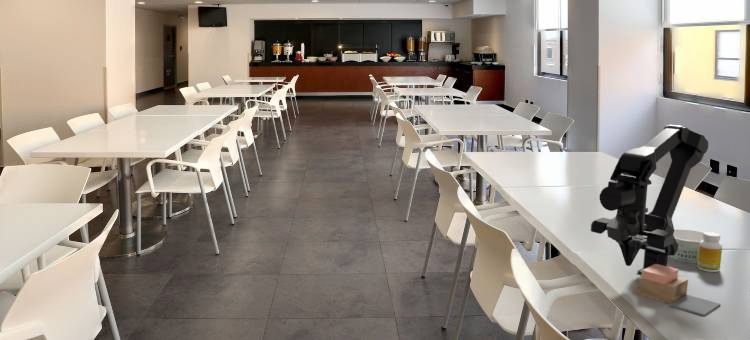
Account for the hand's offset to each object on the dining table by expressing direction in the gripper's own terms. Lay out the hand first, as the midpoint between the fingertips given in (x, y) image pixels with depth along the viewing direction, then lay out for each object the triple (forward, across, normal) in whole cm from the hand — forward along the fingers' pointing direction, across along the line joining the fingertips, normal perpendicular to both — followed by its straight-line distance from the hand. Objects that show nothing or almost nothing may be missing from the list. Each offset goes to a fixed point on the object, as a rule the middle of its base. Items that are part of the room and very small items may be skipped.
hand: (628, 265), depth 161 cm
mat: (+5, +17, -1) cm, 18 cm away
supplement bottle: (+5, +9, +27) cm, 29 cm away
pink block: (+1, +8, 0) cm, 8 cm away
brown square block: (+5, +9, 0) cm, 10 cm away
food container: (+5, +1, +33) cm, 33 cm away
